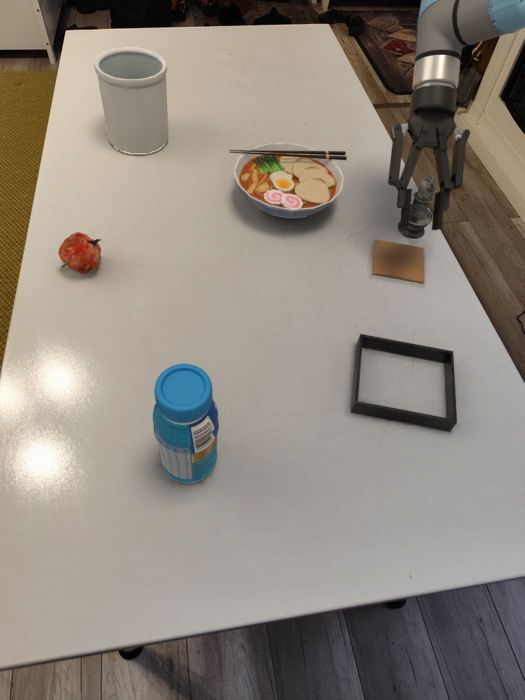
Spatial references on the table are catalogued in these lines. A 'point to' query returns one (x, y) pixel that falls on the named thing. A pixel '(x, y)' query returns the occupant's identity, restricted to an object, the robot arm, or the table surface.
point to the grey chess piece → (420, 210)
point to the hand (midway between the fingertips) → (420, 228)
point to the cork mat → (398, 261)
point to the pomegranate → (80, 253)
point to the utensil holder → (134, 98)
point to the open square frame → (400, 414)
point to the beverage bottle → (186, 423)
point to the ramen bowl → (289, 178)
